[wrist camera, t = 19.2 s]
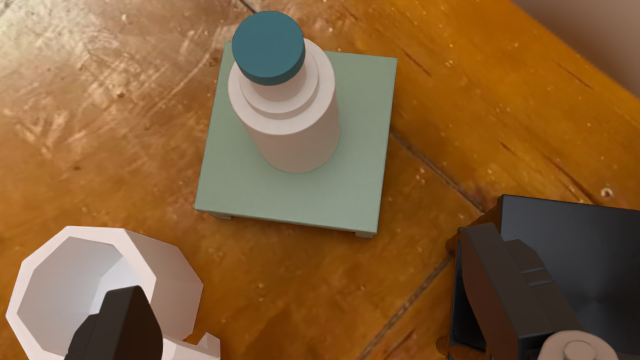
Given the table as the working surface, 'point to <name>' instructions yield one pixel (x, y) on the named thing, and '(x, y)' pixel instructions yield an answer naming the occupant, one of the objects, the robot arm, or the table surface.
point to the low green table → (314, 186)
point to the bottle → (284, 92)
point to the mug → (104, 290)
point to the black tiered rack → (562, 269)
